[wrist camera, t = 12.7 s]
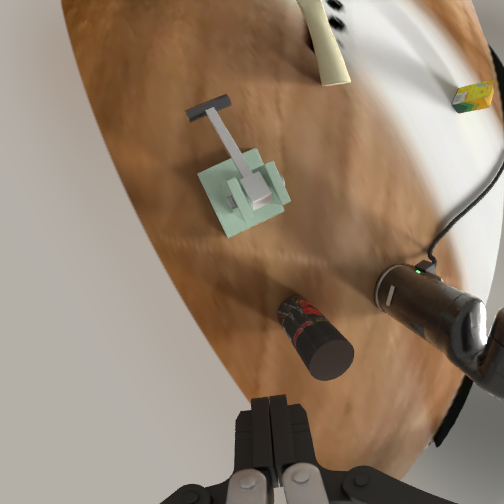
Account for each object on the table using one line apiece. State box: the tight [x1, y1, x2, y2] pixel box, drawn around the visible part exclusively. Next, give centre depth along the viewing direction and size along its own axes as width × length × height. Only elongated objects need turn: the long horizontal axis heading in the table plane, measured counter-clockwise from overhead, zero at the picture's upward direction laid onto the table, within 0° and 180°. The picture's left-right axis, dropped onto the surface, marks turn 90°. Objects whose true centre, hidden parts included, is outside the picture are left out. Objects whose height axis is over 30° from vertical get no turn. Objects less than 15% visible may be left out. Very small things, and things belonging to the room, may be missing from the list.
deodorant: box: [277, 296, 354, 381], centre depth 38 cm, size 6×6×15 cm
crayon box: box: [452, 80, 494, 113], centre depth 37 cm, size 7×3×12 cm, turn 142°
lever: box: [185, 94, 272, 211], centre depth 29 cm, size 15×6×2 cm, turn 25°
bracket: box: [197, 148, 291, 238], centre depth 33 cm, size 10×9×14 cm
